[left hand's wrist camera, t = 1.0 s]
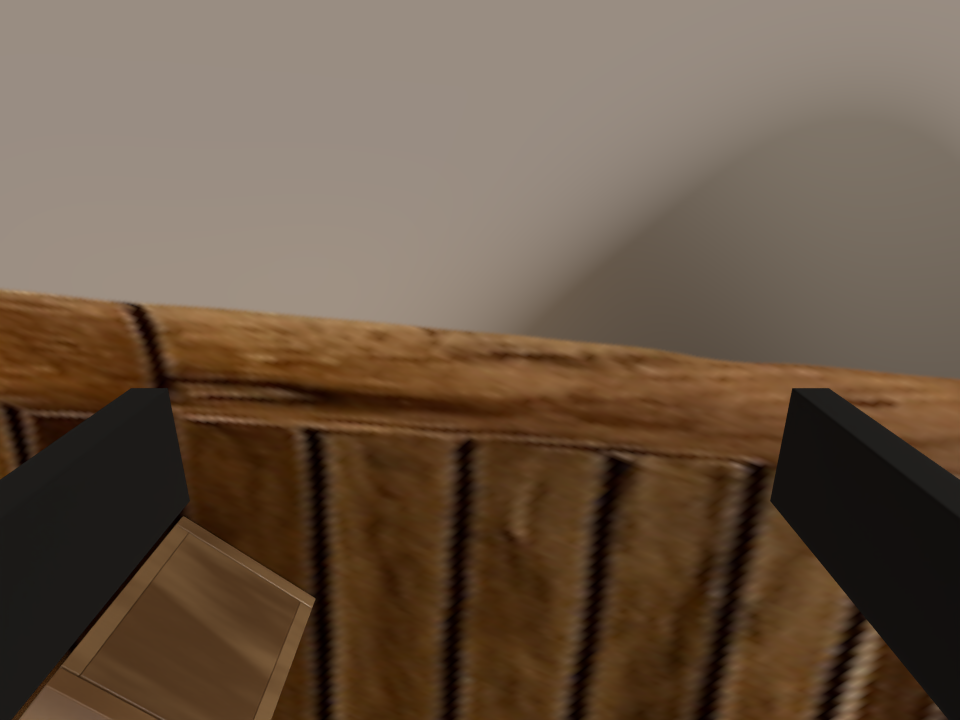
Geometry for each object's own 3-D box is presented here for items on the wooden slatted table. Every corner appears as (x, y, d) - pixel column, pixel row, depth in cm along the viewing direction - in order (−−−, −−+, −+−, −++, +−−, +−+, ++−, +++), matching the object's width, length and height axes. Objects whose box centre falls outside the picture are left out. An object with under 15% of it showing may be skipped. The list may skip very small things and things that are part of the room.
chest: (187, 738, 42) (91, 932, 31) (62, 671, 40) (-86, 855, 29) (316, 598, 38) (253, 768, 27) (183, 515, 35) (61, 665, 25)
